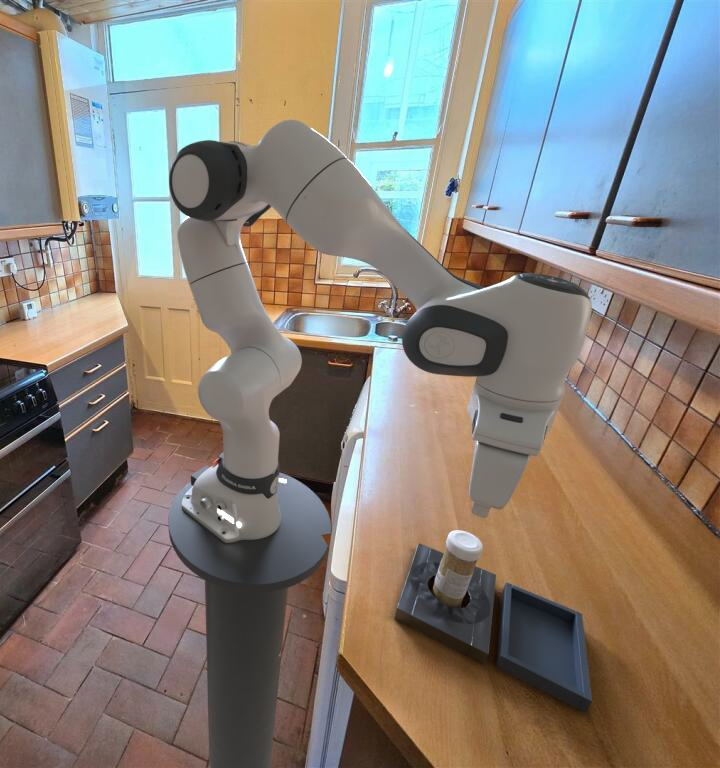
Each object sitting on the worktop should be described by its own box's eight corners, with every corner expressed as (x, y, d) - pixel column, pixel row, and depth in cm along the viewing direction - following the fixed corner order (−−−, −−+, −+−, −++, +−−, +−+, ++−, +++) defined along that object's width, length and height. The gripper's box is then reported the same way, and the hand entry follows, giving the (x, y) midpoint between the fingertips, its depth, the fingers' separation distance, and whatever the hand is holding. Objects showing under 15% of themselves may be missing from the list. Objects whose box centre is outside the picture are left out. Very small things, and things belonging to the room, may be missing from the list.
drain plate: (394, 618, 64) (397, 607, 63) (415, 552, 75) (418, 542, 74) (483, 665, 57) (488, 654, 56) (492, 585, 69) (496, 574, 68)
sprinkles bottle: (432, 584, 69) (450, 524, 64) (462, 597, 67) (484, 537, 61) (427, 604, 66) (446, 543, 60) (459, 619, 63) (482, 557, 58)
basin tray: (495, 666, 57) (500, 655, 56) (501, 592, 68) (506, 581, 67) (584, 712, 52) (592, 701, 51) (576, 624, 63) (582, 613, 61)
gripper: (488, 374, 61) (465, 451, 66) (473, 434, 46) (445, 527, 51) (541, 384, 57) (512, 465, 63) (543, 452, 42) (505, 549, 48)
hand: (482, 493), depth 57 cm, fingers open, 8 cm apart
